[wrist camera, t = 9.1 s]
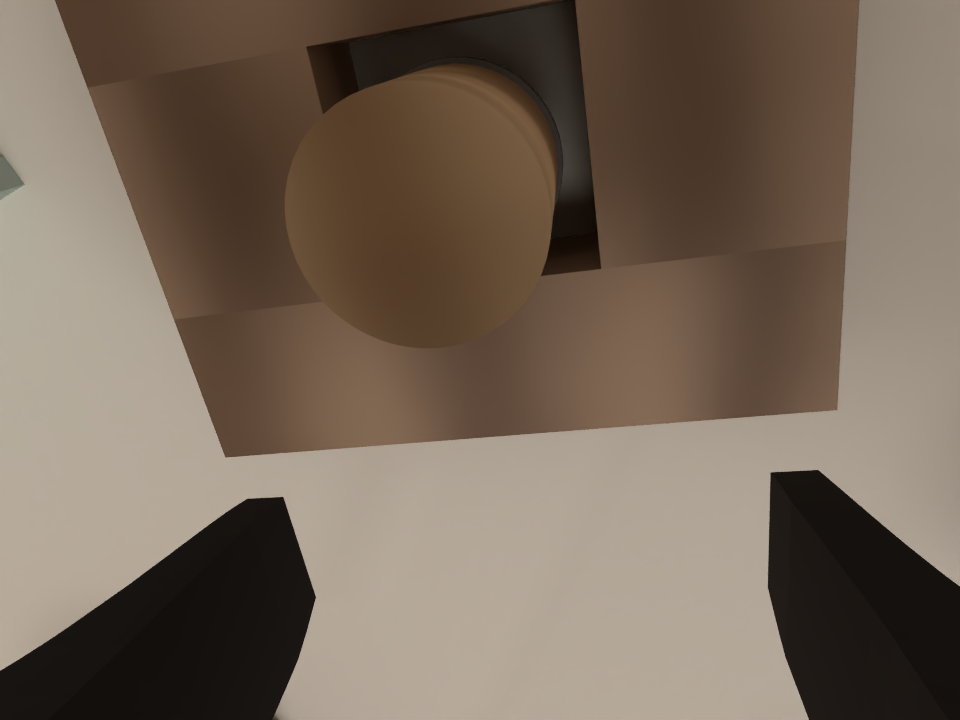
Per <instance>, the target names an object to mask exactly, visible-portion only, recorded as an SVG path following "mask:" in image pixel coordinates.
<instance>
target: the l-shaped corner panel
mask: <svg viewBox="0 0 960 720" xmlns="http://www.w3.org/2000/svg"><path fill="white" fill-rule="evenodd" d="M23 185H25V184H24V183H23V181H22V180H21V179H20V177H19V176H18V175H17V173H16V172H15V171H14V169H13V168H12V167H11V165H10V164H9V162H8V161H7V160H6V158H5V157H4V156H2V157H0V200H1V199H3V198H4V197H6V196H7V195H9V194H10V193H12V192H14V191H15V190H17V189H18V188H20V187H21V186H23Z"/></svg>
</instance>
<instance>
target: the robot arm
mask: <svg viewBox="0 0 960 720" xmlns="http://www.w3.org/2000/svg"><path fill="white" fill-rule="evenodd" d="M768 589H769V594H770V598H771V602H772V606H773V610H774V614H775V618H776V622H777V626H778V630H779V634H780V638H781V641H782V645H783V649H784V653H785V657H786V659H787V662H788V665H789V667H790V670H791V673H792V676H793V678H794V681H795V684H796V686H797V689H798V691H799V694H800V697H801V699H802V702H803V705H804V707H805V710H806V713H807V715H808V718H809V720H960V586H958V585H957V584H956V583H954V582H953V581H952V580H950V579H949V578H948V577H946V576H945V575H944V574H942V573H941V572H940V571H939V570H937V569H936V568H935V567H933V566H932V565H931V564H930V563H928V562H927V561H926V560H925V559H923V558H922V557H921V556H920V555H918V554H917V553H916V552H915V551H913V550H912V549H911V548H910V547H908V546H907V545H906V544H905V543H903V542H902V541H901V540H900V539H899V538H897V537H896V536H895V535H894V534H893V533H891V532H890V531H889V530H888V529H887V528H885V527H884V526H883V525H882V524H881V523H880V522H878V521H877V520H876V519H875V518H874V517H872V516H871V515H870V514H869V513H868V512H867V511H865V510H864V509H863V508H862V507H861V506H860V505H858V504H857V503H856V502H855V501H854V500H853V499H851V498H850V497H849V496H848V495H847V494H846V493H844V492H843V491H842V490H841V489H840V488H839V487H837V486H836V485H835V484H834V483H833V482H832V481H830V480H829V479H828V478H827V477H826V476H825V475H823V474H822V473H821V472H820V471H819V470H811V471H792V472H772V473H771V482H770V523H769V564H768ZM315 599H316V596H315V593H314V590H313V587H312V584H311V581H310V578H309V575H308V572H307V569H306V566H305V563H304V559H303V556H302V553H301V550H300V547H299V544H298V541H297V538H296V535H295V532H294V529H293V526H292V523H291V520H290V516H289V513H288V510H287V507H286V504H285V501H284V498H283V497H275V498H255V499H246V500H245V501H243V502H242V503H240V504H238V505H237V506H235V507H234V508H232V509H231V510H229V511H228V512H226V513H225V514H224V515H222V516H221V517H219V518H218V519H217V520H215V521H214V522H212V523H211V524H210V525H208V526H207V527H206V528H204V529H203V530H202V531H200V532H199V533H198V534H196V535H195V536H194V537H192V538H191V539H190V540H188V541H187V542H186V543H184V544H183V545H182V546H180V547H179V548H178V549H176V550H175V551H174V552H172V553H171V554H170V555H168V556H167V557H166V558H164V559H163V560H161V561H160V562H159V563H157V564H156V565H155V566H153V567H152V568H151V569H149V570H148V571H147V572H145V573H144V574H143V575H141V576H140V577H139V578H137V579H136V580H135V581H133V582H132V583H131V584H129V585H128V586H127V587H125V588H124V589H122V590H121V591H119V592H118V593H117V594H115V595H114V596H112V597H111V598H109V599H108V600H107V601H105V602H104V603H102V604H101V605H99V606H98V607H97V608H95V609H94V610H92V611H91V612H89V613H88V614H87V615H85V616H84V617H82V618H81V619H79V620H78V621H77V622H75V623H74V624H72V625H71V626H69V627H68V628H67V629H65V630H64V631H62V632H61V633H59V634H58V635H56V636H55V637H53V638H52V639H50V640H49V641H47V642H46V643H44V644H43V645H41V646H39V647H38V648H36V649H35V650H33V651H32V652H30V653H29V654H27V655H25V656H24V657H22V658H21V659H19V660H17V661H16V662H14V663H12V664H11V665H9V666H8V667H6V668H4V669H3V670H1V671H0V720H272V719H273V717H274V714H275V712H276V710H277V708H278V705H279V703H280V701H281V698H282V696H283V694H284V691H285V689H286V687H287V684H288V682H289V680H290V677H291V675H292V673H293V670H294V668H295V665H296V663H297V661H298V658H299V655H300V651H301V648H302V645H303V642H304V638H305V635H306V632H307V628H308V624H309V621H310V617H311V613H312V610H313V606H314V602H315Z"/></svg>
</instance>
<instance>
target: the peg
mask: <svg viewBox="0 0 960 720" xmlns="http://www.w3.org/2000/svg"><path fill="white" fill-rule="evenodd" d="M562 171H563V155H562V146H561V141H560V136H559V133H558V130H557V127H556V124H555V122H554V119H553V117H552V115H551V113H550V111H549V109H548V108H547V106H546V105H545V103H544V102H543V100H542V99H541V97H540V96H539V95H538V94H537V93H536V92H535V90H534V89H533V88H532V87H531V86H530V85H529V84H527V83H526V82H525V81H524V80H523V79H522V78H520V77H519V76H517V75H516V74H514V73H513V72H511V71H510V70H508V69H506V68H504V67H502V66H500V65H498V64H495V63H492V62H489V61H486V60H482V59H476V58H470V57H451V58H443V59H439V60H435V61H431V62H428V63H425V64H422V65H420V66H418V67H415V68H413V69H411V70H410V71H408V72H406V73H405V74H403V75H401V76H400V77H399V78H396V79H393V80H390V81H386V82H383V83H380V84H377V85H374V86H371V87H368V88H365V89H363V90H361V91H358V92H356V93H354V94H351V95H349V96H348V97H346V98H345V99H343V100H341V101H340V102H338V103H337V104H335V105H334V106H332V107H331V108H330V109H329V110H328V111H327V112H325V113H324V114H323V115H322V116H321V117H320V118H319V119H318V120H317V121H316V123H315V124H314V125H313V126H312V127H311V128H310V129H309V131H308V133H307V134H306V136H305V137H304V139H303V140H302V142H301V143H300V145H299V147H298V150H297V152H296V154H295V156H294V158H293V161H292V164H291V167H290V171H289V174H288V178H287V185H286V191H285V218H286V228H287V232H288V237H289V241H290V245H291V248H292V250H293V253H294V256H295V259H296V261H297V263H298V265H299V267H300V269H301V271H302V273H303V275H304V277H305V278H306V280H307V281H308V283H309V284H310V286H311V287H312V289H313V290H314V292H315V293H316V294H317V295H318V296H319V297H320V299H321V300H322V301H323V302H324V303H325V304H326V305H327V306H328V307H329V308H330V309H331V310H332V311H333V312H334V313H335V314H336V315H338V316H339V317H340V318H342V319H343V320H344V321H346V322H347V323H348V324H349V325H351V326H353V327H355V328H356V329H358V330H360V331H361V332H363V333H365V334H367V335H370V336H372V337H374V338H376V339H378V340H382V341H385V342H388V343H391V344H394V345H399V346H405V347H410V348H424V349H429V348H444V347H450V346H455V345H460V344H463V343H466V342H469V341H473V340H475V339H477V338H479V337H481V336H484V335H486V334H488V333H489V332H491V331H493V330H494V329H496V328H497V327H499V326H501V325H502V324H503V323H504V322H505V321H507V320H508V319H509V318H510V317H511V316H513V315H514V314H515V313H516V311H517V310H518V309H519V308H520V307H521V306H522V305H523V304H524V303H525V301H526V300H527V298H528V297H529V295H530V294H531V293H532V291H533V290H534V288H535V286H536V284H537V282H538V280H539V278H540V276H541V274H542V271H543V268H544V265H545V262H546V259H547V255H548V250H549V245H550V239H551V230H552V221H553V212H554V208H555V205H556V202H557V199H558V196H559V192H560V187H561V182H562Z"/></svg>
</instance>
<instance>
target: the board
mask: <svg viewBox="0 0 960 720" xmlns="http://www.w3.org/2000/svg"><path fill="white" fill-rule="evenodd" d="M566 1H571V0H55V2H56V4H57V7H58V10H59V12H60V15H61V18H62V20H63V23H64V26H65V28H66V31H67V34H68V36H69V39H70V42H71V44H72V47H73V50H74V52H75V55H76V58H77V61H78V63H79V66H80V69H81V71H82V74H83V77H84V79H85V82H86V85H87V87H88V90H89V93H90V95H91V98H92V101H93V103H94V106H95V109H96V111H97V114H98V117H99V120H100V122H101V125H102V128H103V130H104V133H105V136H106V138H107V141H108V144H109V146H110V149H111V152H112V154H113V157H114V160H115V162H116V165H117V168H118V170H119V173H120V176H121V179H122V181H123V184H124V187H125V189H126V192H127V195H128V197H129V200H130V203H131V205H132V208H133V211H134V213H135V216H136V219H137V221H138V224H139V227H140V229H141V232H142V235H143V237H144V240H145V243H146V246H147V248H148V251H149V254H150V256H151V259H152V262H153V264H154V267H155V270H156V272H157V275H158V278H159V280H160V283H161V286H162V288H163V291H164V294H165V296H166V299H167V302H168V305H169V307H170V310H171V313H172V315H173V318H174V321H175V323H176V326H177V329H178V331H179V334H180V337H181V339H182V342H183V345H184V347H185V350H186V353H187V355H188V358H189V361H190V364H191V366H192V369H193V372H194V374H195V377H196V380H197V382H198V385H199V388H200V390H201V393H202V396H203V398H204V401H205V404H206V406H207V409H208V412H209V414H210V417H211V420H212V423H213V425H214V428H215V431H216V433H217V436H218V439H219V441H220V444H221V447H222V449H223V452H224V455H225V457H237V456H249V455H262V454H275V453H288V452H301V451H314V450H327V449H340V448H353V447H365V446H378V445H391V444H404V443H417V442H430V441H443V440H456V439H469V438H482V437H494V436H507V435H520V434H533V433H546V432H559V431H572V430H585V429H598V428H611V427H623V426H636V425H649V424H662V423H675V422H688V421H701V420H714V419H727V418H739V417H752V416H765V415H778V414H791V413H804V412H817V411H830V410H837V403H838V384H839V365H840V347H841V328H842V310H843V291H844V272H845V254H846V235H847V217H848V198H849V179H850V161H851V142H852V124H853V105H854V86H855V68H856V49H857V31H858V12H859V0H575V6H576V16H577V26H578V37H579V47H580V57H581V68H582V78H583V88H584V99H585V109H586V119H587V129H588V140H589V150H590V160H591V171H592V181H593V191H594V202H595V212H596V222H597V233H595V234H587V235H579V236H571V237H564V238H556V239H550V245H549V250H548V255H547V259H546V262H545V265H544V268H543V271H542V274H541V276H540V278H539V280H538V282H537V284H536V286H535V288H534V290H533V291H532V293H531V294H530V295H529V297H528V298H527V300H526V301H525V303H524V304H523V305H522V306H521V307H520V308H519V309H518V310H517V311H516V313H515V314H514V315H513V316H511V317H510V318H509V319H508V320H507V321H505V322H504V323H503V324H502V325H501V326H499V327H497V328H496V329H494V330H493V331H491V332H489V333H488V334H486V335H484V336H481V337H479V338H477V339H475V340H473V341H469V342H466V343H463V344H460V345H455V346H450V347H444V348H429V349H424V348H410V347H405V346H399V345H394V344H391V343H388V342H385V341H382V340H378V339H376V338H374V337H372V336H370V335H367V334H365V333H363V332H361V331H360V330H358V329H356V328H355V327H353V326H351V325H349V324H348V323H347V322H346V321H344V320H343V319H342V318H340V317H339V316H338V315H336V314H335V313H334V312H333V311H332V310H331V309H330V308H329V307H328V306H327V305H326V304H325V303H324V302H323V301H322V300H321V299H320V297H319V296H318V295H317V294H316V293H315V292H314V290H313V289H312V287H311V286H310V284H309V283H308V281H307V280H306V278H305V277H304V275H303V273H302V271H301V269H300V267H299V265H298V263H297V261H296V259H295V256H294V253H293V250H292V248H291V245H290V241H289V237H288V232H287V228H286V218H285V191H286V185H287V178H288V174H289V171H290V167H291V164H292V161H293V158H294V156H295V154H296V152H297V150H298V147H299V145H300V143H301V142H302V140H303V139H304V137H305V136H306V134H307V133H308V131H309V129H310V128H311V127H312V126H313V125H314V124H315V123H316V121H317V120H318V119H319V118H320V117H321V116H322V115H323V114H324V113H325V112H327V111H328V110H329V109H330V108H331V107H332V106H334V105H335V104H337V103H338V102H340V101H341V100H343V99H345V98H346V97H348V96H349V95H351V94H354V93H356V92H358V86H357V82H356V77H355V73H354V68H353V64H352V59H351V55H350V50H349V46H348V42H352V41H358V40H363V39H368V38H374V37H379V36H385V35H390V34H395V33H401V32H406V31H411V30H417V29H422V28H427V27H433V26H438V25H443V24H449V23H454V22H459V21H465V20H470V19H475V18H481V17H486V16H491V15H497V14H502V13H507V12H513V11H518V10H523V9H529V8H534V7H539V6H545V5H550V4H555V3H561V2H566Z"/></svg>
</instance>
